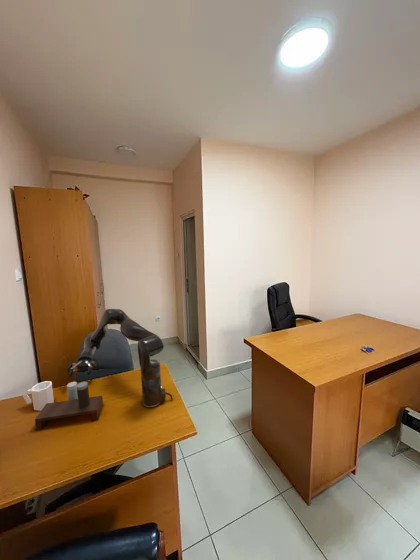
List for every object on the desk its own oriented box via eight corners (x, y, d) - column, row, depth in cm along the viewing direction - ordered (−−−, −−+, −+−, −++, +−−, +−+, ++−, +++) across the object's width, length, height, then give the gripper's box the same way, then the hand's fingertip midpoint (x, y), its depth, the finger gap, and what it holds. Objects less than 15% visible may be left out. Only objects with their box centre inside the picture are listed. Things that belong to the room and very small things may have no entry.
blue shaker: (80, 399, 114) (78, 381, 113) (77, 405, 110) (75, 386, 109) (70, 400, 113) (68, 382, 112) (67, 406, 109) (65, 387, 108)
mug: (57, 397, 116) (54, 379, 114) (50, 408, 108) (47, 389, 106) (29, 401, 113) (27, 383, 111) (20, 413, 104) (17, 394, 103)
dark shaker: (90, 400, 105) (88, 380, 104) (88, 407, 101) (85, 386, 100) (80, 402, 105) (78, 382, 103) (77, 408, 100) (75, 388, 99)
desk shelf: (103, 404, 110) (102, 395, 109) (97, 419, 100) (96, 409, 99) (47, 413, 105) (46, 403, 104) (36, 429, 95) (34, 419, 94)
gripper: (72, 352, 132) (63, 369, 117) (99, 350, 136) (93, 366, 121) (73, 363, 134) (64, 382, 119) (100, 361, 138) (94, 378, 123)
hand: (79, 374), depth 120 cm, fingers open, 8 cm apart
